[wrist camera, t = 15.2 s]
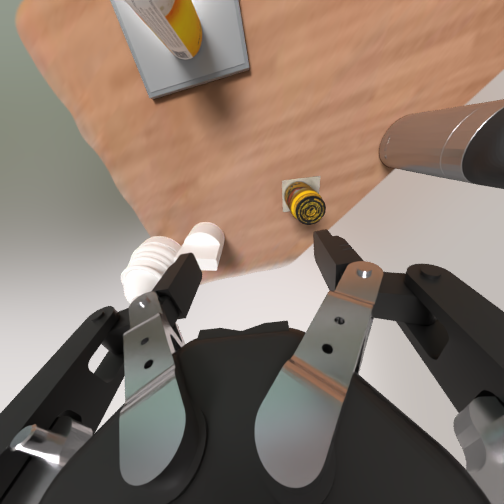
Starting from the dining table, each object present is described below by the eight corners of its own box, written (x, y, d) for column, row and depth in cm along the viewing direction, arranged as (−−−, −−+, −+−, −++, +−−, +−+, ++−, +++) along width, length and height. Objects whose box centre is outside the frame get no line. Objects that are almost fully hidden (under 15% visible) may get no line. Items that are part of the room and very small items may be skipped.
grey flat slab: (229, -51, 24) (228, -60, 23) (249, 69, 30) (249, 67, 29) (111, -5, 26) (105, -11, 25) (152, 99, 32) (149, 98, 31)
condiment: (281, 180, 40) (292, 194, 30) (320, 175, 39) (344, 188, 29) (282, 211, 44) (292, 233, 34) (317, 207, 43) (338, 228, 33)
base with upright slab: (192, 251, 50) (177, 279, 40) (188, 221, 45) (170, 244, 35) (225, 252, 50) (218, 281, 40) (224, 222, 45) (216, 246, 35)
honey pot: (174, 231, 47) (137, 275, 31) (195, 269, 53) (172, 321, 38) (131, 242, 48) (75, 289, 33) (156, 277, 55) (119, 330, 40)
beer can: (198, -1, 26) (146, -139, 13) (206, 59, 29) (172, -4, 16) (157, 3, 26) (65, -129, 13) (169, 63, 29) (106, 3, 16)
